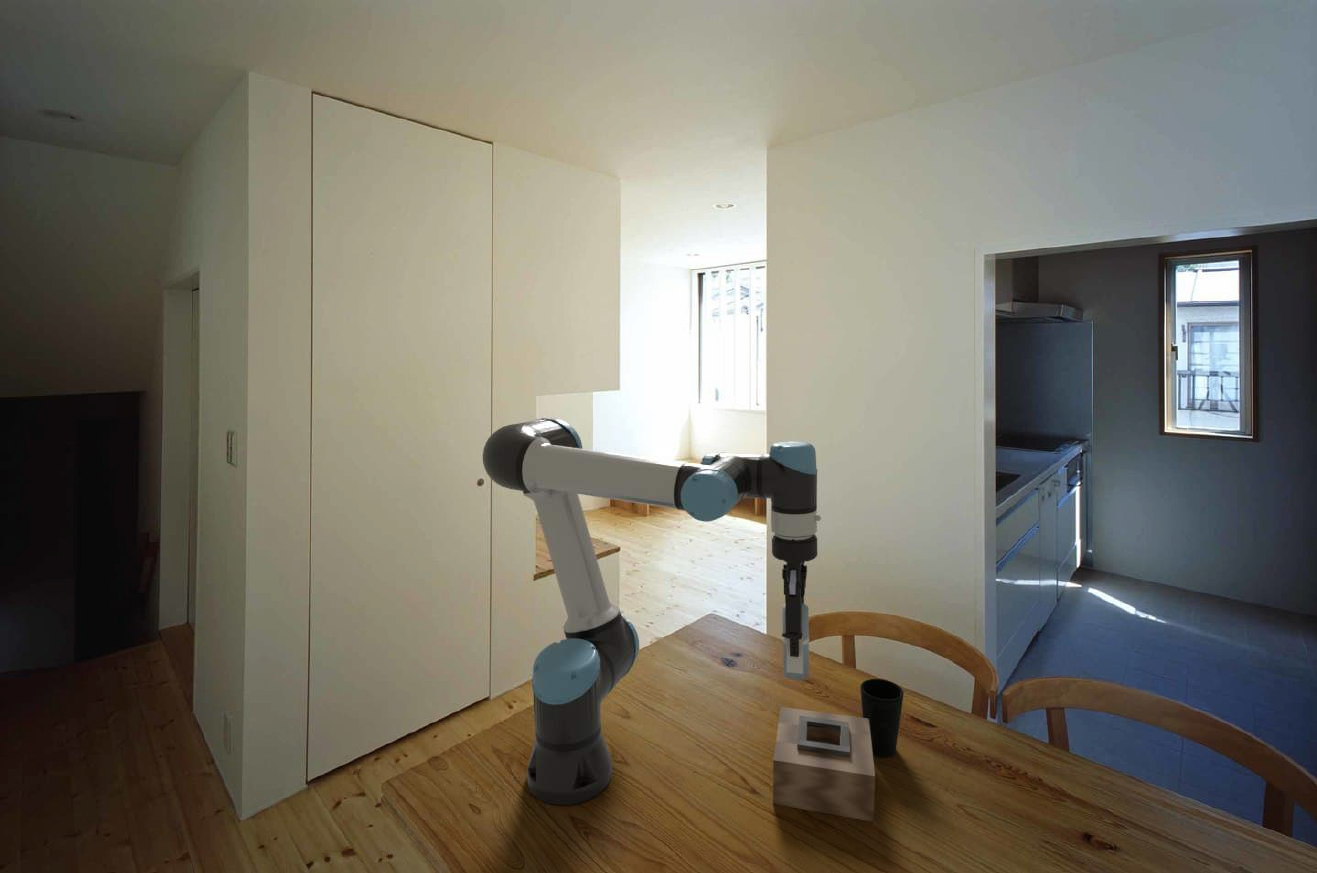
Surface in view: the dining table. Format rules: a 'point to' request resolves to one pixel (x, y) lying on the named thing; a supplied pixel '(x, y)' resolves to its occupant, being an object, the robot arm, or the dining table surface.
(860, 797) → the socket block
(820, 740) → the grey square plate
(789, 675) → the peg
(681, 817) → the dining table surface
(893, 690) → the cup
